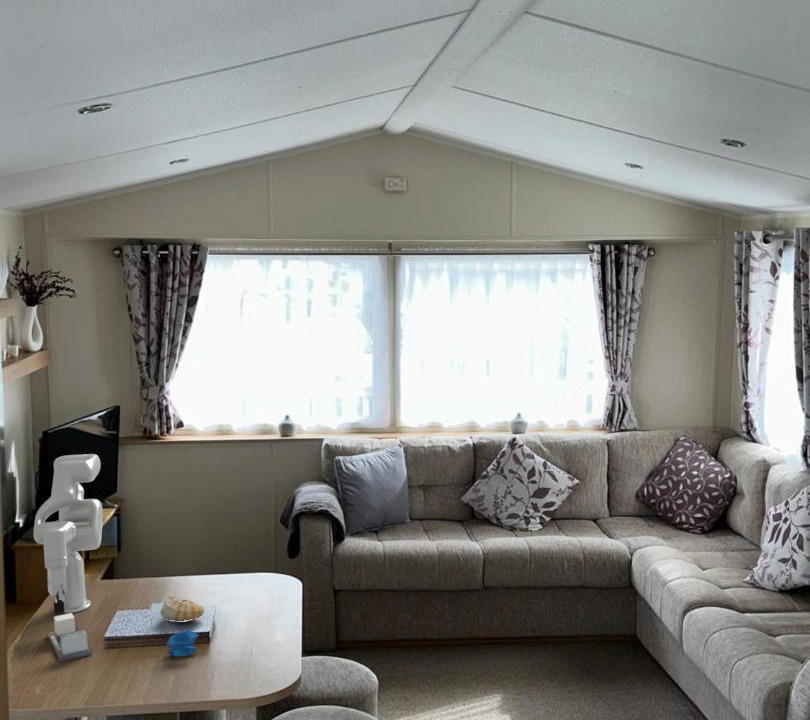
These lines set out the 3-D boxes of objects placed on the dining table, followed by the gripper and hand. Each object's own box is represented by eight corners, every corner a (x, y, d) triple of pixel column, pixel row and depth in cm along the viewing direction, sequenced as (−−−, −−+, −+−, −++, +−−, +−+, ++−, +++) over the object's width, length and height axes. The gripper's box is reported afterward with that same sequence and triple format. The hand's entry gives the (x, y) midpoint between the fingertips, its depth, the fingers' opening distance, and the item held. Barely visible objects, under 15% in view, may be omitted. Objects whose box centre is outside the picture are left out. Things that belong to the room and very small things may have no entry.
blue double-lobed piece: (162, 632, 318) (197, 621, 319) (170, 655, 320) (205, 645, 321) (160, 641, 311) (196, 630, 312) (167, 665, 312) (203, 654, 313)
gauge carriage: (48, 631, 332) (47, 617, 331) (72, 626, 336) (71, 612, 335) (51, 636, 327) (50, 622, 327) (75, 631, 331) (74, 617, 331)
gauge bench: (48, 636, 334) (46, 616, 333) (77, 630, 339) (76, 610, 338) (60, 661, 313) (59, 640, 312) (91, 654, 318) (90, 633, 317)
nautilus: (154, 613, 354) (194, 608, 360) (165, 631, 334) (207, 625, 341) (153, 592, 354) (194, 587, 360) (164, 608, 334) (207, 603, 340)
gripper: (41, 558, 340) (44, 608, 342) (48, 569, 327) (52, 621, 329) (63, 555, 344) (66, 604, 346) (71, 565, 331) (74, 616, 333)
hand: (59, 612), depth 337 cm, fingers closed
